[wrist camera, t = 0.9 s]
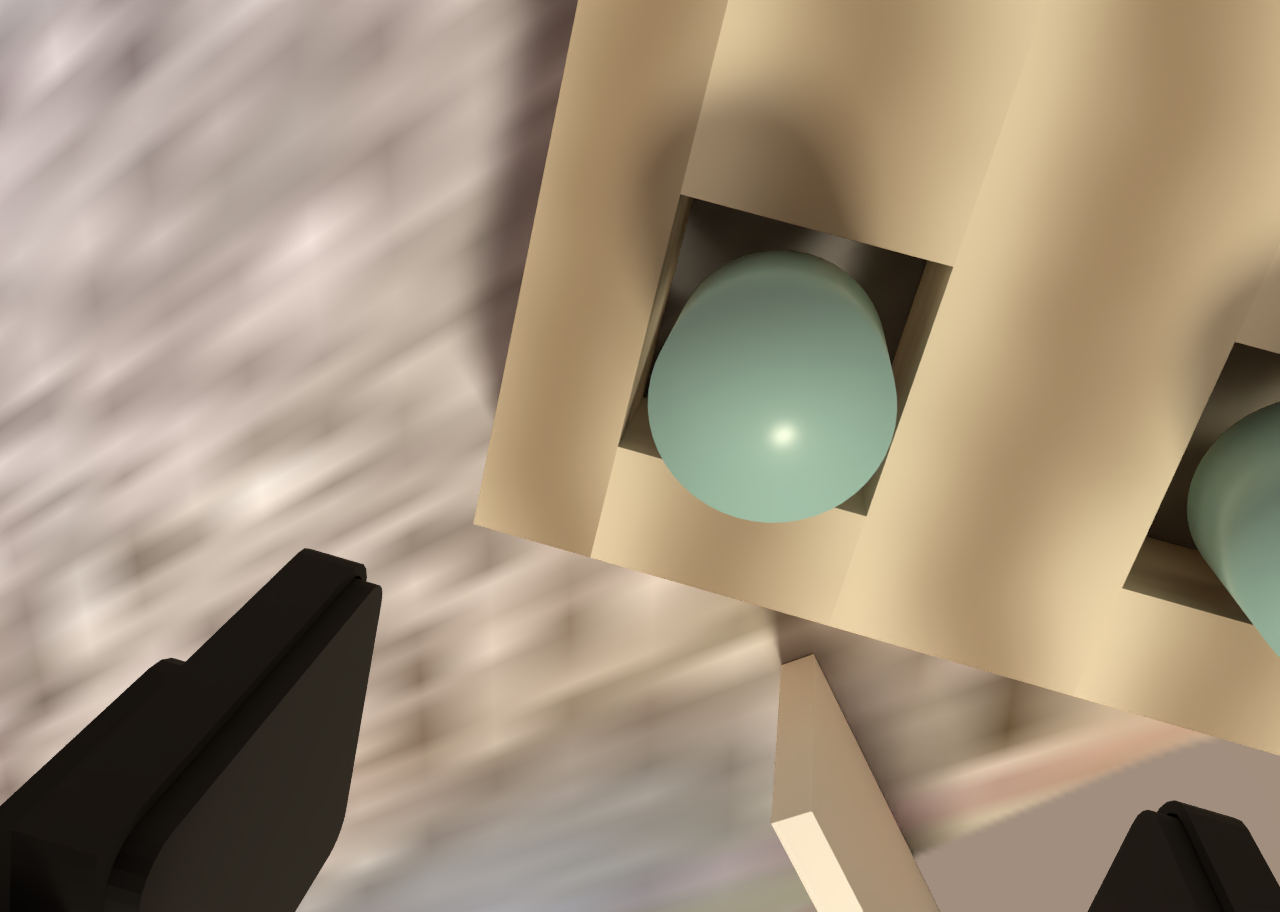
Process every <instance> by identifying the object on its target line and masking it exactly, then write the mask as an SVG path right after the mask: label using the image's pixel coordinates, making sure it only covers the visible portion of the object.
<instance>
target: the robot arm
mask: <svg viewBox="0 0 1280 912" xmlns="http://www.w3.org/2000/svg"><path fill="white" fill-rule="evenodd" d="M366 579H367V574H366V568H365V566H364V564H360V563H357V562H353V561H350V560H346V559H343V558H340V557H336V556H333V555H329V554H326V553H322V552H319V551H316V550H312V549H306V548H304V549H303V550H302V551H300V552H299V553H298V554H297V555H296V556H294V557H293V558H292V559H291V560H290V561H289V562H288V563H287V564H286V565H285V566H284V567H283V568H282V569H281V570H280V571H279V572H278V573H277V574H276V575H275V576H274V577H273V578H272V579H271V580H270V581H269V582H268V583H267V584H266V585H265V586H263V587H262V588H261V589H260V590H259V591H258V592H257V593H256V594H255V595H254V596H253V597H252V598H251V599H250V600H249V601H248V602H247V603H246V604H245V605H244V606H243V607H242V608H241V609H240V610H239V611H238V612H237V613H236V614H235V615H233V616H232V617H231V618H230V619H229V620H228V621H227V622H226V623H225V624H224V625H223V626H222V627H221V628H220V629H219V630H218V631H217V632H216V633H215V634H214V635H213V636H212V637H211V638H210V639H209V640H208V641H207V642H206V643H205V644H204V645H202V646H201V647H200V648H199V649H198V650H197V651H196V652H195V653H194V654H193V655H192V656H191V657H190V658H189V659H188V660H187V661H186V662H184V661H181V660H178V659H174V658H168V659H163V660H160V661H159V662H158V663H156V664H155V665H153V666H152V667H151V668H149V669H148V670H147V671H146V672H145V673H144V674H143V675H142V676H140V677H139V678H138V679H137V680H136V681H135V682H134V683H133V684H132V685H131V686H130V687H129V688H127V689H126V690H125V691H124V692H123V693H122V694H121V695H120V696H119V697H118V698H117V699H116V700H115V701H113V702H112V703H111V704H110V705H109V706H108V707H107V708H106V709H105V710H104V711H103V712H102V713H100V714H99V715H98V716H97V717H96V718H95V719H94V720H93V721H92V722H91V723H90V724H89V725H87V726H86V727H85V728H84V729H83V730H82V731H81V732H80V733H79V734H78V735H77V736H76V737H75V738H73V739H72V740H71V741H70V742H69V743H68V744H67V745H66V746H65V747H64V748H63V749H62V750H60V751H59V752H58V753H57V754H56V755H55V756H54V757H53V758H52V759H51V760H50V761H49V762H47V763H46V764H45V765H44V766H43V767H42V768H41V769H40V770H39V771H38V772H37V773H36V774H34V775H33V776H32V777H31V778H30V779H29V780H28V781H27V782H26V783H25V784H24V785H23V786H22V787H20V788H19V789H18V790H17V791H16V792H15V793H14V794H13V795H12V796H11V797H10V798H9V799H7V800H6V801H5V802H4V803H3V804H2V805H1V806H0V912H295V911H296V909H297V908H298V906H299V904H300V903H301V901H302V899H303V898H304V896H305V894H306V893H307V891H308V890H309V888H310V886H311V885H312V883H313V881H314V880H315V878H316V876H317V875H318V873H319V871H320V870H321V868H322V866H323V865H324V863H325V862H326V860H327V858H328V857H329V855H330V853H331V851H332V849H333V847H334V845H335V843H336V841H337V838H338V836H339V833H340V830H341V827H342V824H343V821H344V817H345V812H346V807H347V801H348V795H349V790H350V784H351V778H352V772H353V766H354V760H355V754H356V748H357V743H358V737H359V731H360V725H361V719H362V713H363V707H364V701H365V696H366V690H367V684H368V678H369V672H370V666H371V660H372V654H373V649H374V643H375V637H376V631H377V625H378V619H379V613H380V607H381V601H382V588H381V586H380V585H376V584H373V583H369V582H366ZM1088 912H1280V887H1279V885H1278V883H1277V881H1276V879H1275V877H1274V876H1273V874H1272V872H1271V870H1270V868H1269V867H1268V865H1267V863H1266V861H1265V859H1264V858H1263V856H1262V854H1261V852H1260V850H1259V848H1258V846H1257V845H1256V843H1255V841H1254V839H1253V837H1252V836H1251V834H1250V832H1249V830H1248V829H1247V827H1246V826H1245V825H1244V824H1243V822H1242V821H1240V820H1238V819H1236V818H1233V817H1229V816H1226V815H1222V814H1219V813H1216V812H1212V811H1209V810H1206V809H1202V808H1198V807H1195V806H1192V805H1188V804H1185V803H1181V802H1178V801H1175V800H1174V801H1170V802H1166V803H1165V804H1164V805H1163V806H1162V807H1160V808H1159V810H1158V811H1157V812H1154V811H1150V810H1145V811H1143V812H1141V813H1140V814H1139V815H1138V816H1137V817H1136V819H1135V821H1134V822H1133V824H1132V826H1131V828H1130V830H1129V832H1128V834H1127V836H1126V837H1125V839H1124V841H1123V843H1122V845H1121V847H1120V849H1119V851H1118V853H1117V855H1116V857H1115V859H1114V861H1113V863H1112V865H1111V867H1110V869H1109V871H1108V873H1107V875H1106V877H1105V879H1104V881H1103V883H1102V885H1101V887H1100V889H1099V891H1098V893H1097V895H1096V896H1095V898H1094V900H1093V902H1092V904H1091V906H1090V908H1089V910H1088Z"/></svg>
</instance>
